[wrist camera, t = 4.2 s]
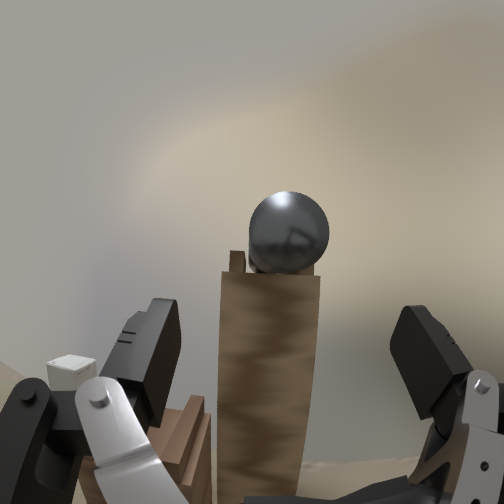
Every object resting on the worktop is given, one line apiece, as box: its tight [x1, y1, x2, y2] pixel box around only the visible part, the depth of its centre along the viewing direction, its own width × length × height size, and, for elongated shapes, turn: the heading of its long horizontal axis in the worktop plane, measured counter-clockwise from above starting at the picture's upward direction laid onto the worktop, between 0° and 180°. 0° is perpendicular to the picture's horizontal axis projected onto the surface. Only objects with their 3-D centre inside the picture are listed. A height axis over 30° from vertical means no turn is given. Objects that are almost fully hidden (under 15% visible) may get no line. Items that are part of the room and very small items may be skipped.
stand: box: [217, 251, 320, 504], centre depth 27 cm, size 7×15×34 cm, turn 1°
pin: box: [249, 192, 329, 274], centre depth 23 cm, size 3×23×3 cm, turn 1°
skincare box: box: [46, 354, 97, 391], centre depth 38 cm, size 8×7×16 cm
